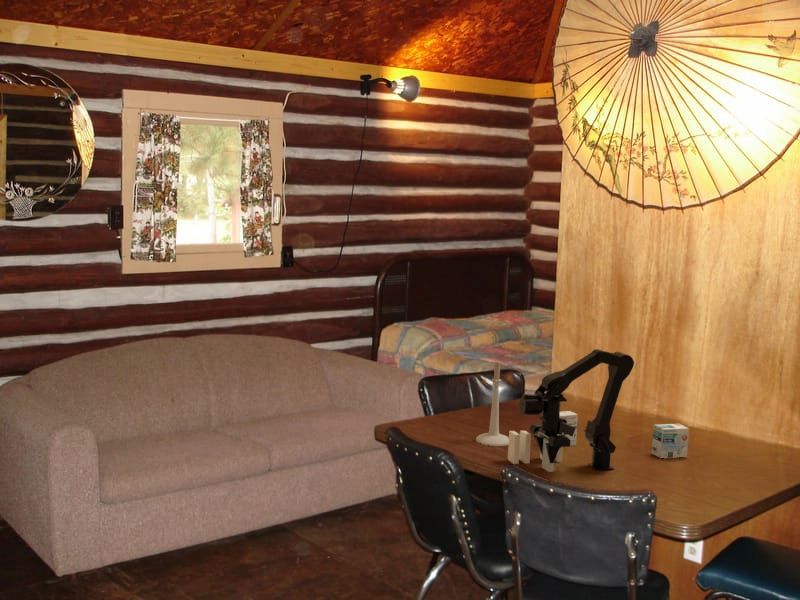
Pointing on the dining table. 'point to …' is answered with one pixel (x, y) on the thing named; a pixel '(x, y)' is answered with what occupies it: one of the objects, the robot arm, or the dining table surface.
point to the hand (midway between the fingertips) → (548, 460)
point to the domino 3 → (546, 458)
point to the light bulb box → (670, 440)
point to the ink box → (571, 420)
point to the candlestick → (494, 417)
